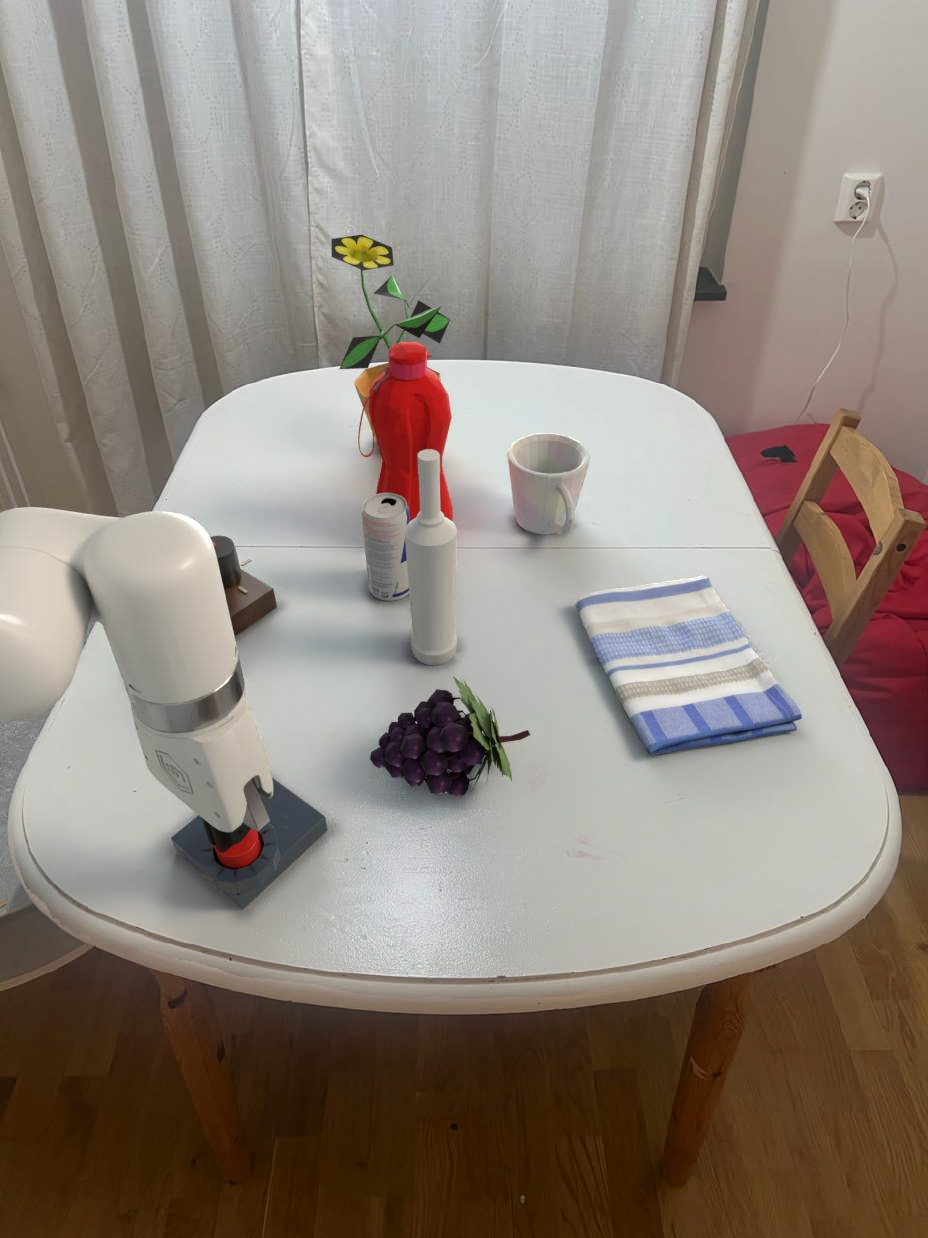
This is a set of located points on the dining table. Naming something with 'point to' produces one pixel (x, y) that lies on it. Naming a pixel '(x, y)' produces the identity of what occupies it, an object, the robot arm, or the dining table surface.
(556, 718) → the dining table surface
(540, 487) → the mug
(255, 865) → the button box
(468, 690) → the fruit
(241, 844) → the plunger
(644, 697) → the dish towel
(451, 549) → the bottle
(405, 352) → the water bottle
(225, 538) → the dial
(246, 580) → the console
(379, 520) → the energy drink
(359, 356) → the potted plant
